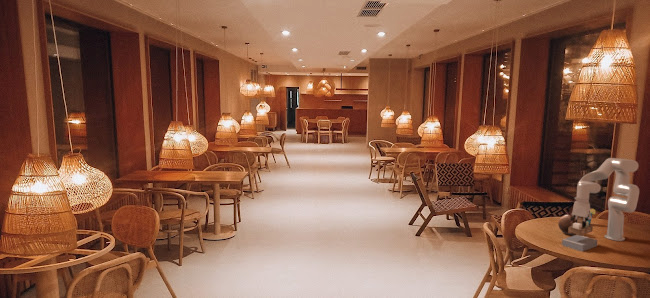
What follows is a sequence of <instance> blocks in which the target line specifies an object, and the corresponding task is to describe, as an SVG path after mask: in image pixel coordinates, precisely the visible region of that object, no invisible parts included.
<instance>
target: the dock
mask: <svg viewBox="0 0 650 298" xmlns="http://www.w3.org/2000/svg"><path fill="white" fill-rule="evenodd" d="M562 245H563V246H562ZM561 246H562V247H565V246H566V247H565V248H568V247H569V249H571V250H572V249H573V250H576V251H579V252H586V251H588V250H590V249H593V248H596V247H597V246H598V239H595V238H592V237H588V236H584V235H581V236H578V235H577V234H573V235H571V236H569V237H565V238H563V239H562V240H561Z"/></svg>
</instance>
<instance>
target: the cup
mask: <svg viewBox="0 0 650 298" xmlns="http://www.w3.org/2000/svg"><path fill="white" fill-rule="evenodd" d="M596 213H597V212H596V209H594V208H590V215H591V217H592V218H593V215H596ZM587 218H589V217H587ZM587 222H589V225H591V222H592V219H589V220H587Z"/></svg>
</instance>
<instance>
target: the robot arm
mask: <svg viewBox="0 0 650 298" xmlns="http://www.w3.org/2000/svg"><path fill="white" fill-rule="evenodd" d="M638 169H639V162H638V161H636V160H634V159H626V158H619V157H618V158H616V157H608V158H607V159H605V160H604V162H602V164H600V165H599V167H598V168H597V169H596V170H594V171H591V172H588V173H587V174H585V175H583V176H582V177H581V178H580V180H579V181H578V182H577V186H576V197H574V200H575V201H574V202H573V203H574V204H573V208H572V212H571V214H570V215H573V216H574V217H575V219H576V223H577V217H579V216H580V217H583V223H582V227H585V226H586V221H587V220H589V219H591V220H592V219H593V216H592V217H591V215H590V209H591V203H590V194H597V193H600V191H601V189H602V187H601V184H599V183H597V182H595V181H601V180H607V179H608V178H609V177H610V176H611V175H612V173H614V172H615V180H614V184H613V189H612V190H613V193H614V194H615V196H610V197H609V198H608V200H607V207H608V217H607V219H608V220H607V230H606V231H607V232H606V234H604V236H603V237H604V238H605V239H608V240H611V241H618V242H623V241H625V240H626V238H625V237H624V234H625V233H624V221H625V215H624V213H623V212H625V213H634V212H635V211H636V209H637V204H638V202H639V195H640V188H639V186H638V185H636V184H632V183H630V179H631V178H630V173H634V172H635V173H636V171H638ZM616 195H618V196H616ZM621 196H622V197H621ZM625 197H626V198H625ZM587 217H589V218H587Z"/></svg>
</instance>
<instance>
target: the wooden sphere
mask: <svg viewBox="0 0 650 298" xmlns="http://www.w3.org/2000/svg"><path fill="white" fill-rule="evenodd" d="M557 223H558V227H559V230H560V231H561V232H562V233H564V234H566V235H571V236H573V235H577V234H576V233H568V227H570V226H573V223H576V219H575V217H574V216H573V215H571V214H565V215H563V216H561V217H560V218H559V220H558V222H557Z"/></svg>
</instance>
